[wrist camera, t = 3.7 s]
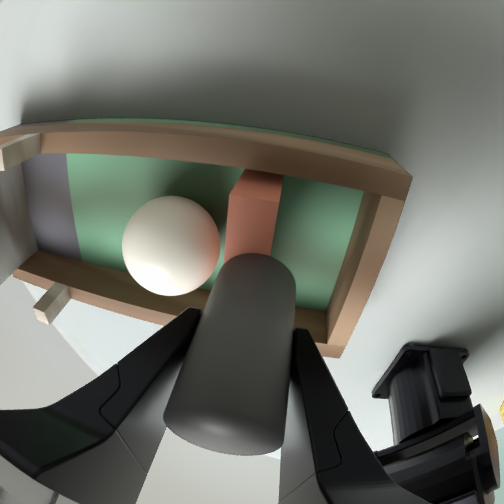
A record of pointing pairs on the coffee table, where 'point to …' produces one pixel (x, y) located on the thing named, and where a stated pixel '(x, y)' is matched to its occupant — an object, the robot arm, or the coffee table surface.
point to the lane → (205, 194)
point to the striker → (241, 336)
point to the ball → (171, 245)
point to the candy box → (502, 411)
